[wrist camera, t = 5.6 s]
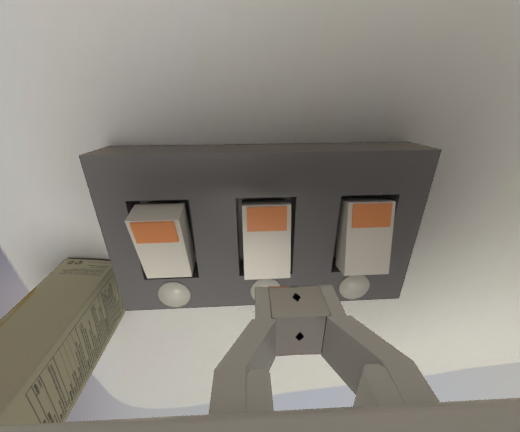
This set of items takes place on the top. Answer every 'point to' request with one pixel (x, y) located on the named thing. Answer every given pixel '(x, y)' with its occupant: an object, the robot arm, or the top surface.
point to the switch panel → (256, 189)
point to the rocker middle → (266, 239)
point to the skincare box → (56, 341)
